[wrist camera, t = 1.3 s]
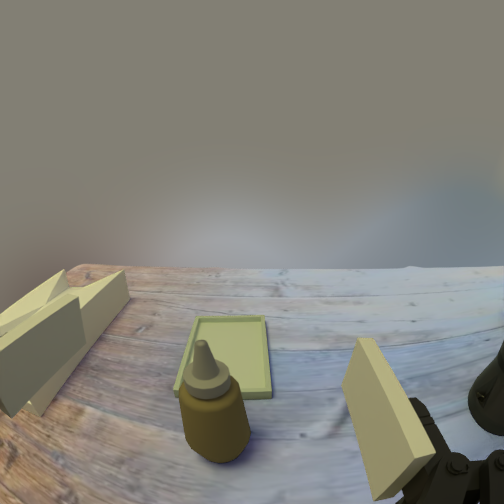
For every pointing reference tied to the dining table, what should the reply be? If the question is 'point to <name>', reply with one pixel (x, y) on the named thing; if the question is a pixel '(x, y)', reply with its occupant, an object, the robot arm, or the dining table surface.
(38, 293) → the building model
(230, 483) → the dining table surface
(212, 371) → the squeeze bottle
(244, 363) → the tray
